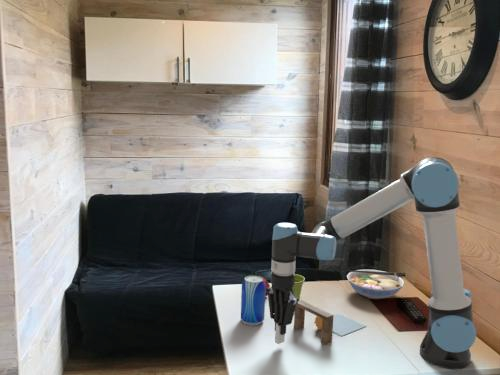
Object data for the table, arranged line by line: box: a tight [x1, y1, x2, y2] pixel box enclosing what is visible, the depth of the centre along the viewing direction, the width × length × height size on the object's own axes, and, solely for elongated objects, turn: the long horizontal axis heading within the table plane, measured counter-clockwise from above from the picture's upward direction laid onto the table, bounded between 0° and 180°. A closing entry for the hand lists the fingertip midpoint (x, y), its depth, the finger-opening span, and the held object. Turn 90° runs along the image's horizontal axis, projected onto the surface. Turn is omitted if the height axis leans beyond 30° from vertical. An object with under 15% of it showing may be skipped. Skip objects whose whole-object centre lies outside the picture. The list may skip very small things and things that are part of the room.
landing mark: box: [313, 312, 367, 337], centre depth 186 cm, size 13×13×1 cm
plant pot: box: [292, 273, 306, 300], centre depth 207 cm, size 9×9×9 cm
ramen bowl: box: [343, 269, 406, 300], centre depth 213 cm, size 25×23×8 cm
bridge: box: [293, 299, 335, 346], centre depth 177 cm, size 3×15×10 cm, turn 39°
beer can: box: [240, 275, 266, 327], centre depth 185 cm, size 8×8×16 cm
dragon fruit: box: [261, 276, 271, 297], centre depth 209 cm, size 8×8×12 cm
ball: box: [314, 315, 322, 331], centre depth 181 cm, size 6×6×6 cm
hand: (279, 342), depth 168 cm, fingers closed
